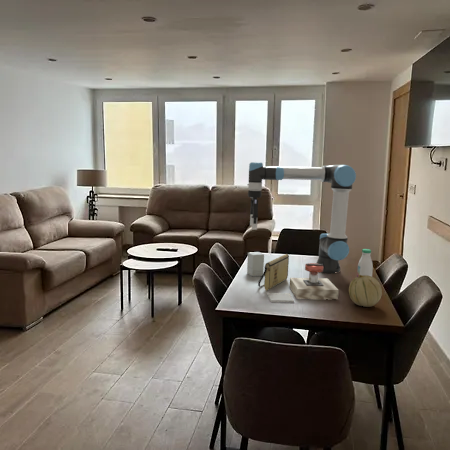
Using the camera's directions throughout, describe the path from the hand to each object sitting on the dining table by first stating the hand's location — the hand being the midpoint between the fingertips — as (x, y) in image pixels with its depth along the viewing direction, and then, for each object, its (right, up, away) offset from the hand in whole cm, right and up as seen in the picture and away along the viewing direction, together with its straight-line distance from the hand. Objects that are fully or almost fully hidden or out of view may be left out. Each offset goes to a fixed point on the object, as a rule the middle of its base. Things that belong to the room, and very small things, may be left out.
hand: (253, 227), depth 245 cm
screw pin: (+28, -33, -26) cm, 51 cm away
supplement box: (+1, -28, +6) cm, 28 cm away
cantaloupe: (+49, -37, -43) cm, 75 cm away
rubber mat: (+11, -34, -37) cm, 51 cm away
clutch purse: (+9, -31, -13) cm, 35 cm away
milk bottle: (+60, -32, -9) cm, 68 cm away
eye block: (+28, -33, -26) cm, 51 cm away
